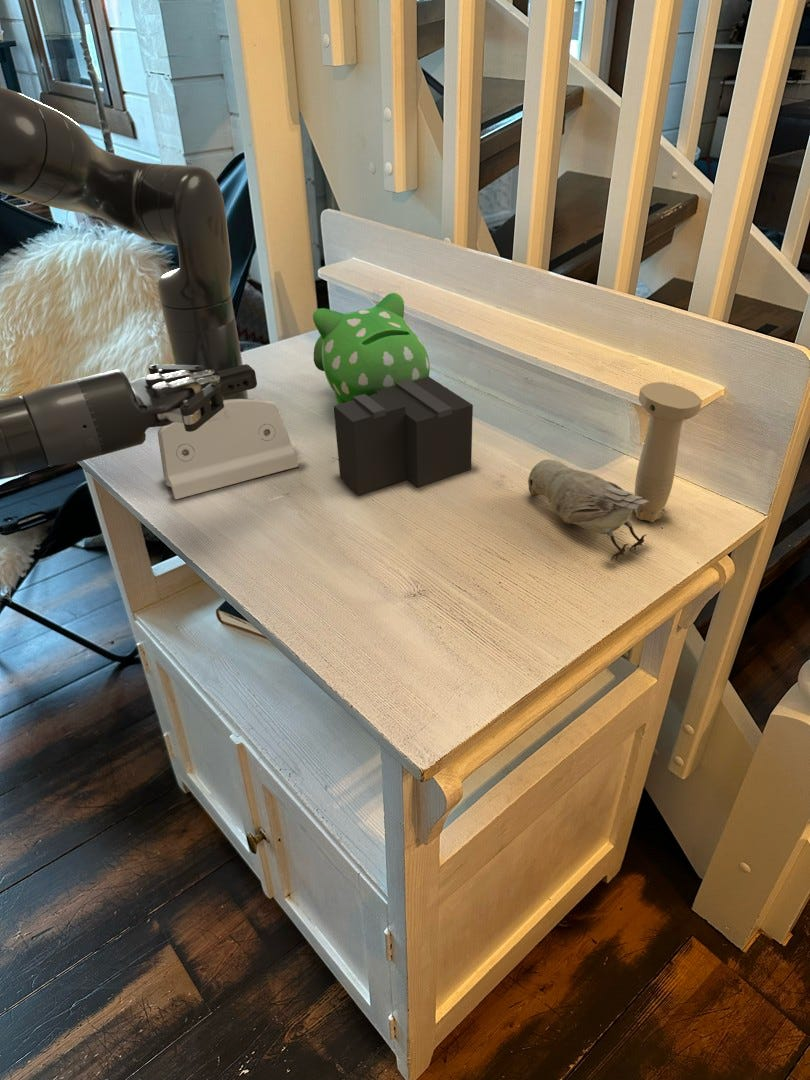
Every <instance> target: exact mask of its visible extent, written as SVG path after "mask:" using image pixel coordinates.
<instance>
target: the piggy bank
mask: <svg viewBox="0 0 810 1080" xmlns="http://www.w3.org/2000/svg"><path fill="white" fill-rule="evenodd" d="M404 314H405V301H404V299H403V297H402V295H400V294H399V293H396V292H391V293H388V294H386V295H385V296H384V297H383V298H382V299H381V300H379V302H377V303H376V304H375V305H374V306H373V307H368V308H364V309H359V310H355V311H351V312H346V313H343V312H339V311H336V310H332V309H329V308H324V307H322V308H317V309H316V310H314V311H313V313H312V321H313V324H314V326H315V327H316V330H317V331H318V334H319V337H318V338H317V340H316V341H315V344H314V347H313V362H314V365H315V367H316V368H317V369H318V370H319V371H321V372H324V374H325V377H326V380H327V383H328V385H329V387H330V388H331V390H332V391H333V392H334V395H335V398H336V402H337V405H338V404H342V403H345V402H349V401H353V397H355V396H359V395H362V394H366V395H367V396H371V395H374V394H375V391H378V390H382V389H385V388H389V387H393V386H395V383H396V382H400V381H403V380H407V379H409V380H411V381H414V380H418V379H422V378H425V377H430V370H431V369H430V367H431V366H430V363H431V362H430V358H429V355H428V352H427V349H426V347H425V346H424V344H423V342H422V341H421V339H420V338H419V337H418V336H417V335H416V334H415V332H414V331H413V330H412V329H411V327H410V326H409V324H407V322H406V321H405V319H404Z"/></svg>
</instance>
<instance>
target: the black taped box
mask: <svg viewBox="0 0 810 1080" xmlns="http://www.w3.org/2000/svg"><path fill="white" fill-rule="evenodd" d="M381 392H386V393H387V394H389V395H390V396H391V397H393V398H394V399H396V400H397V401H398V402H400V403H401V404H402V405H404V406H405V413H406V444H407V475H408V479H407V480H408V481H409V482H410V483H411V484H413V485H414V486H415V487H416V488H421V487H423V486H426V485H429V484H432V483H436V482H438V481H441V480H443V479H446V478H449V477H452V476H456V475H459V474H461V473H465V472H467V471H470V470H472V453H473V451H472V448H473V416H474V415H473V413H474V411H473V410H474V405H473V404H472V403H470V402H469V401H468V400H466V399H464V398H463V397H461V396H460V395H459V394H457V393H455V392H453V391H452V390H450V389H449V388H447V387H446V386H444V385H443V384H441V383H440V382H438V381H436V380H435V379H433V378H432V377H431V376H429V377H425V378H422V379H418V380H414V381H411V380H409V379H407V380H403V381H400V382H396V383H395V386H393V387H389V388H385V389H382V390H378V391H375V394H378V393H381Z"/></svg>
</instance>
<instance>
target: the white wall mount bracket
mask: <svg viewBox="0 0 810 1080" xmlns="http://www.w3.org/2000/svg"><path fill="white" fill-rule="evenodd" d="M223 403H224V408H223V409H222V410H220V411H219V412H218V413H217V414H215V415H214V416H213V417H212V418H210V419H209V420H208V421H207V422H205V423H204V424H203V425H202V426H201V427H199V428H198V429H197V430H195V431H192V432H188V431H186V430H185V427H184V423H179V422H175V423H171V424H170V425H167V426H161V427H159V428H158V431H157V439H158V446H159V454H160V459H161V464H162V465H161V467H162V472H163V479H164V484H165V486H167V487H170V488H171V492H172V495H173V499H174V500H179V499H183V498H186V497H190V496H194V495H197V494H201V493H205V492H208V491H213V490H216V489H219V488H223V487H227V486H231V485H234V484H239V483H242V482H246V481H249V480H253V479H257V478H260V477H263V476H264V477H265V476H268V475H271V474H276V473H279V472H283V471H286V470H287V471H288V470H290V469H294V468H297V467H299V462H298V457H297V454H296V452H295V449H294V447H293V444H292V442H291V438H290V437H289V434H288V432H287V428H286V426H285V424H284V420H283V418H282V415H281V413H280V410H279V408H278V405H276V404H275V403H274V402H272V401H270V400H263V399H257V398H248V399H230V400H223Z"/></svg>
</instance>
